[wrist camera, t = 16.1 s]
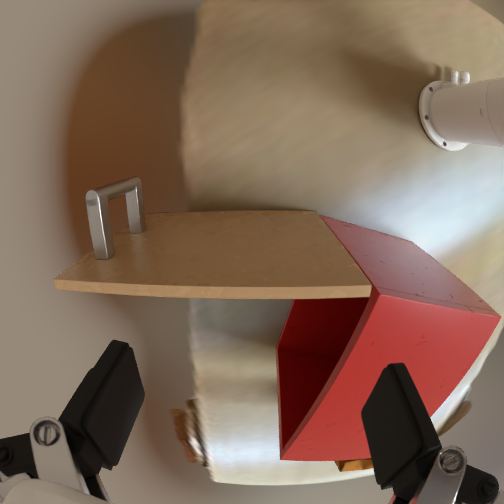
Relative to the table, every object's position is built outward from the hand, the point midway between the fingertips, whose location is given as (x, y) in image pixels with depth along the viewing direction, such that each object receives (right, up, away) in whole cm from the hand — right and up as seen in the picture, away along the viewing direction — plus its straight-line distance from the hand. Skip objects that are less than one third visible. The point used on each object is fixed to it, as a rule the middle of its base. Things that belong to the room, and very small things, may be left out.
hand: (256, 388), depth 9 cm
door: (-4, +14, +32) cm, 35 cm away
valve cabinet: (+16, -3, +38) cm, 41 cm away
